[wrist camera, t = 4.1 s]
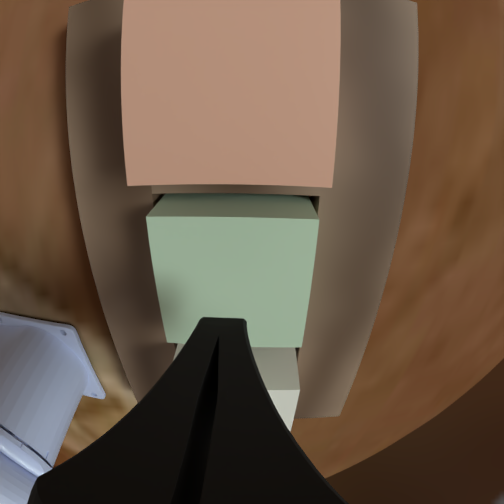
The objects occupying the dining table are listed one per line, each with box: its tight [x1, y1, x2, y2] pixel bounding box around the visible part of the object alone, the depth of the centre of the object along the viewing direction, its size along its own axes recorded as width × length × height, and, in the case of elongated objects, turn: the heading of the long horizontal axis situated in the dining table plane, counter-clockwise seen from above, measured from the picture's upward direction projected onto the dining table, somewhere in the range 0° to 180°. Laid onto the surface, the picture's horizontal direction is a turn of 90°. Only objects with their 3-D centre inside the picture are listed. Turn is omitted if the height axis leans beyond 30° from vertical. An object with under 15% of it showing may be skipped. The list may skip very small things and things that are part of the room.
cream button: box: [173, 343, 300, 431], centre depth 16 cm, size 6×6×4 cm
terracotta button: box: [121, 0, 341, 188], centre depth 9 cm, size 6×6×4 cm
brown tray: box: [66, 0, 418, 419], centre depth 14 cm, size 14×24×2 cm, turn 179°
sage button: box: [146, 193, 319, 347], centre depth 13 cm, size 6×6×4 cm
